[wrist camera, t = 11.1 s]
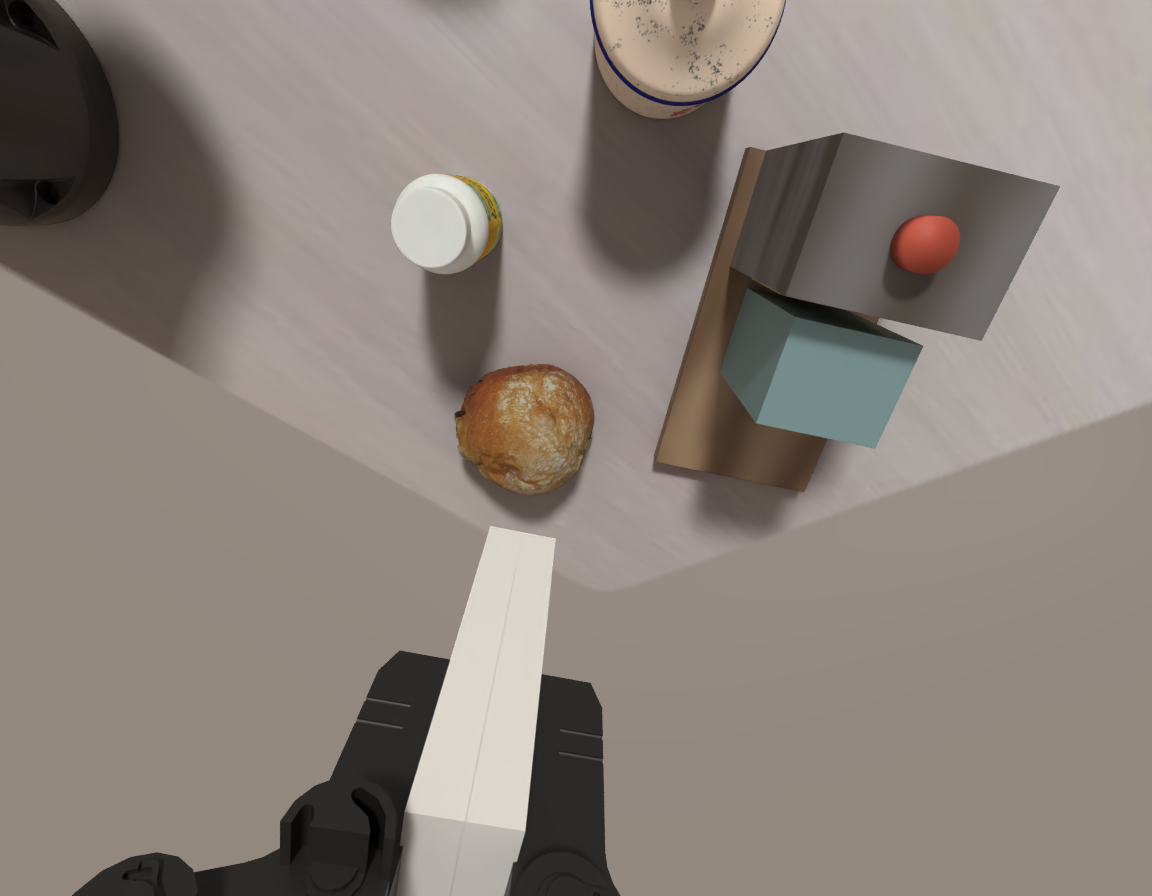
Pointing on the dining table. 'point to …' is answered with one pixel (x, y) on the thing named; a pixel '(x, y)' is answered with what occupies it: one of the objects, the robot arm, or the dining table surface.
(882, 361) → the teal rectangular block
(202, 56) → the dining table surface
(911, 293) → the switch base
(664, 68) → the teacup with lid
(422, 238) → the supplement bottle
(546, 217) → the dining table surface
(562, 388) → the bread roll
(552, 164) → the dining table surface
